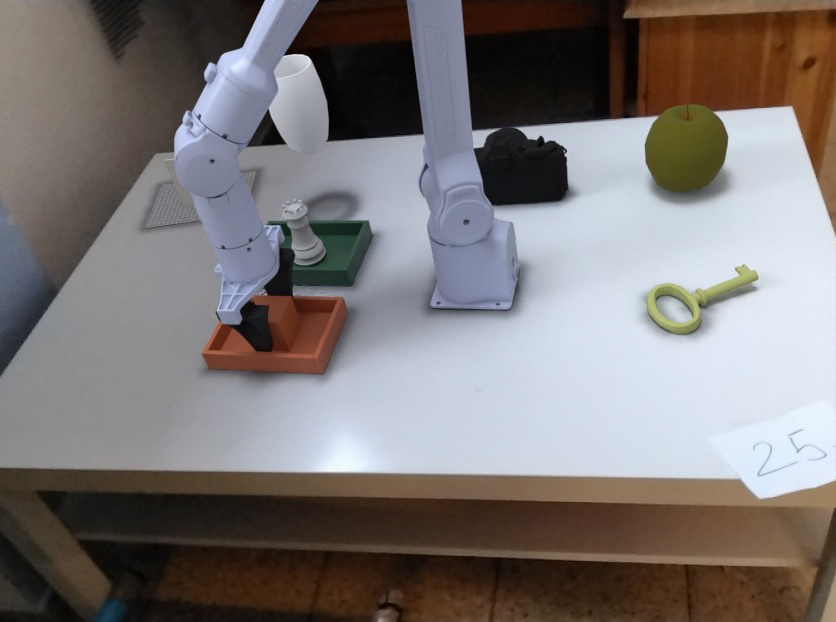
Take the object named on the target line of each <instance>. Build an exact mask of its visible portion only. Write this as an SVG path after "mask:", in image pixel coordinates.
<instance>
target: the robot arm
mask: <svg viewBox="0 0 836 622" xmlns="http://www.w3.org/2000/svg"><path fill="white" fill-rule="evenodd" d="M318 2H319V0H264V1H263V4H262V5H261V8H260V10H259V12H258V14H257V16H256V19H255V20H254V23H253V25H252V26H251V29H250V31H249V33H248V35H247V37H246V39H245V41H244V44H243V46H242V47H241V48H238V49H233V50H231V51H227V52H224V53H223V54H221V56H220V57H219V59H218V61H217V63H216V64H215V63H213V62H209V63H207V67H206V68H205V70H204V73H203V77H204V81H205V82H207V83H206V84H205V86H204V87H203V90H202V92H201V94H200V96H199V98H198V100H197V102H196V104H195V105H194V107H193V109H192V111H190V110H185V113H184V115H183V117H182V124H181V125H180V126H179V127H178V129H177V130H176V132H175V135H174V141H173V149H174V151H173V152H174V153H173V155H174V158H173V159H174V165H175V172H176V176H177V178H178V181H179V182H180V184H181V185H182V186H183V187H184V188H185V189H186V190H187V191H189V192H190V194H191V196H192V198H193V200H194V205H195V208H196V211H197V213H198V215H199V217H200V220H199V221H200V222H201V224H202V227H203V229H204V231H205V233H206V235H207V238H208V240H209V243H210V245H211V247H212V250H213V251H214V254H215V256H216V258H217V261H218V263H217V264H216V266H215V268H214V273H215V275H216V276H217V277H221V287H220V298H219V299H220V300H219V304H218V306H217V308H216V310H215V315H216V317H217V320H218V322H219V321H221V322H222V324H226V325H228V326H230V327H231V328H233V329H234V330H236V331H237V332H238V333H239V334H241V335H242V336H243V337H244V338H245V339H246V341H247V342H248V343H249V344H250V345H251V346H252V347H253V348H254V350H255V351H256V352H272V350H273V348H274V344H273V339H272V335H271V332H270V328H269V322H268V311H269V306H270V305H255V303H254V301H252V302H251V301H250V299H251V298H252V297H253V296H254V295H257V294H258V292H259V291H261V289H262V288H263V289H264V291H265V293H266V295H268V296H291V297H292V300H293V296H294V291H293V285H292V271H293V264H294V259H295V252H294V250H293V249H291V248H280V244H282V243H283V242H284V240H285V237H284V234H283V232H282V229H281V226H266V225H264V224H263V221H262V218H261V216H260V212H259V211H258V208H257V205H256V202H255V199H254V197H253V193H252V190H251V191H250V188H249V186H248V185H247V183H246V182H245V181H244V178H243V176H242V173H243V172H242V170H241V167H240V163H239V159H238V156H239V155H240V154H241V153H242V152H243V151H244V150H245V149H246V148H247V147H248V145H249V144H250V142H251V140H252V138H253V136H254V134H255V133H256V131H257V129H258V127H259V126H260V124H261V122H262V120H263V119H264V117H265V115H266V113H267V112H268V110H269V107H270V105H271V103H272V101H273V100H274V98H275V96H276V94H277V93H278V84H277V81H276V78H275V75H274V70H275V68H276V67H277V65H278V63H279V62H280V60H281V59H282V57H283V56H285V54H286V52H287V51H288V49H289V48H290V46H291V45H292V43H293V41H294V40H295V38H296V37H297V35H298V34H299V32H300V31H301V29H302V27H303V26H304V24H305V22H306V21H307V19H308V18H309V16H310V15H311V12H313V10H314V9H315V7H316V5H317V4H318ZM406 6H407V12H408V21H409V28H410V29H409V30H410V36H411V44H412V53H413V58H414V59H413V61H414V67H415V75H416V83H417V90H418V99H419V107H420V113H421V114H420V115H421V121H422V131H423V138H424V145H423V147H422V157H423V163H422V167H421V169H420V171H419V175H418V178H417V179H418V180H417V182H418V183H417V185H418V189H419V192H420V193H421V195H422V197H423V198H424V200H425V202H426V204H427V207H428V209H429V211H430V213H429V217H428V219H427V224H426V230H427V235H428V240H429V245H430V249H431V254H432V259H433V265H434V269H435V275H436V280H437V281H436V283H435V288H434V291H433V293H432V296H431V299H430V303H429V305H430V307H431V309H432V308H433V309H458V310H459V309H463V310H464V309H465V310H503V311H505V310H510V309H511V308H512V305H513V301H514V295H515V291H516V287H517V282H518V279H519V273H520V269H521V266H520V265H521V264H520V263H519V258H518V249H517V248H518V247H517V238H516V232H515V231H516V230H515V225H514V223H513V222H512V221H510V220H509V221H508V220H502V219H498V218H496V217H495V210H494V206H493V205H491V203H490V201H489V200H488V199H487V197H486V196H485V194H484V190H483V181H482V177H481V174H480V170H479V167H478V163H477V160H476V156H475V153H474V148H475V147H474V137H473V136H474V135H473V126H472V114H471V113H472V112H471V101H470V91H469V90H470V89H469V88H470V87H469V79H468V67H467V65H468V64H467V54H466V53H467V52H466V41H465V30H464V29H465V28H464V19H463V18H464V17H463V6H462V0H406Z"/></svg>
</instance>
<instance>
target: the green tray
mask: <svg viewBox="0 0 836 622" xmlns="http://www.w3.org/2000/svg"><path fill="white" fill-rule="evenodd" d="M287 223H288V220H268V221H267V223H266V225H265V226H281V229H282V232H283V234H284V237H285V240H284V242H283V243H282V244H280V248H291V246H292V233H291V229H290V228H289V227H288V225H287ZM308 223H309V225H310V227H311V229H312V231H313V233H314V235H316V236H317V238H319V239H320V240H321V241H322V242H323V245H324V246H323V247H325V250H326V252H325V255H324V257H323V259H322V260H321V261H320V262H318V263H317V264H315V265H312V266H300V265H298V264H296V263H295V262H294V264H293V271H292V286H321V287H322V286H324V287H325V286H329V287H330V286H331V287H352V286H353V284H354V282H355V279H356V277H357V274H358V272H359V269H360V268H361V264H362V263H363V261H364V258H365V255H366V253H367V250H368V249H369V246H370V243H371V241H372V239H373V236H374V234H373V231H372V227H371V224H370V220H368V219H366V220H365V219H362V220H361V219H357V220H355V219H354V220H352V219H351V220H349V219H347V220H342V219H339V220H338V219H337V220H335V219H334V220H327V219H326V220H309V222H308Z"/></svg>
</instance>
